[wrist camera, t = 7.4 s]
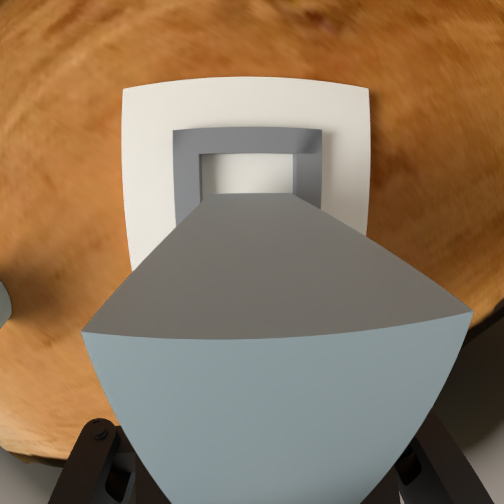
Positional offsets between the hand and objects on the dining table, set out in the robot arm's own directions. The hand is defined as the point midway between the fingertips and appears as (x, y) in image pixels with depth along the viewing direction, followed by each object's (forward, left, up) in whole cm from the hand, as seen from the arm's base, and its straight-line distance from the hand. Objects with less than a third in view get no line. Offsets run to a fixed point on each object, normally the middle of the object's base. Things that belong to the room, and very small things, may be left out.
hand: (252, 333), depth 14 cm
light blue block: (0, 0, -2) cm, 2 cm away
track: (0, 0, -6) cm, 6 cm away
